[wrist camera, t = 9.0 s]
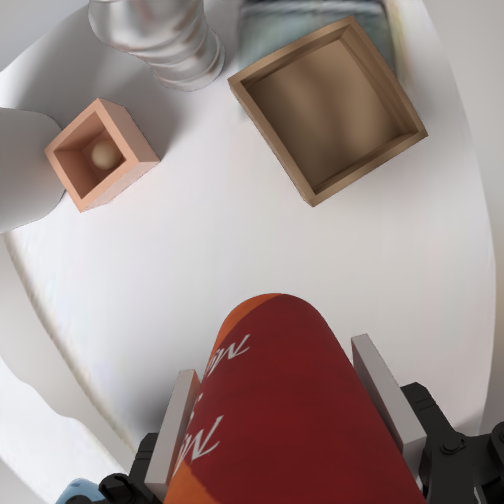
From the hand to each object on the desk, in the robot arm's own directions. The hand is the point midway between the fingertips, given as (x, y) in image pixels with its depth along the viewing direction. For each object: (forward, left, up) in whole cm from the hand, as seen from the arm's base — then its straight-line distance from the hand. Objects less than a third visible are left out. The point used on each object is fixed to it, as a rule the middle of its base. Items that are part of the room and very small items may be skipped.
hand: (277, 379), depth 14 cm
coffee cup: (0, 0, -3) cm, 3 cm away
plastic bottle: (+5, +20, -19) cm, 28 cm away
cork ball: (-7, +17, -18) cm, 26 cm away
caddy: (+12, +9, -19) cm, 24 cm away
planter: (-7, +17, -19) cm, 26 cm away
